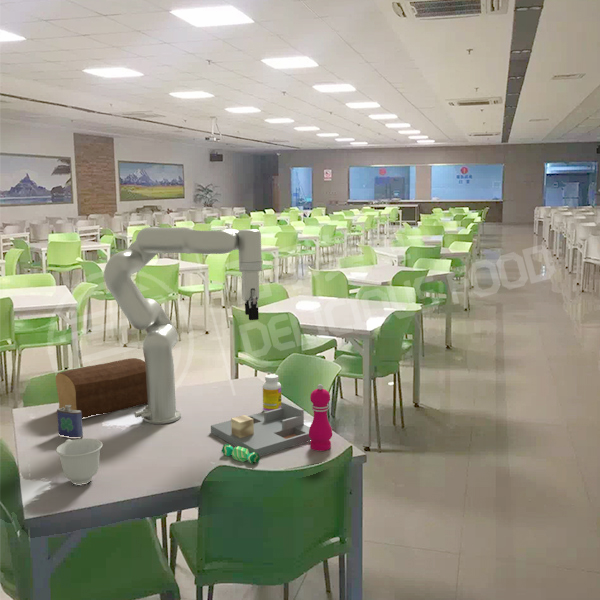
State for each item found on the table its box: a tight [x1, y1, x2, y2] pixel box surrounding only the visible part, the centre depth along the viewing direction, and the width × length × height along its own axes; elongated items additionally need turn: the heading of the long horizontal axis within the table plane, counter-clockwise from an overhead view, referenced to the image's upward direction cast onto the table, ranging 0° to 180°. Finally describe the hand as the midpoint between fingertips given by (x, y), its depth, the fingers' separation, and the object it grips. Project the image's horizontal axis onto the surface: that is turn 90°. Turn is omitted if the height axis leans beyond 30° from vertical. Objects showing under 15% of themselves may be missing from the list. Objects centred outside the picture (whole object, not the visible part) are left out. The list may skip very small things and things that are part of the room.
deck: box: [210, 401, 311, 457], centre depth 215 cm, size 24×26×8 cm
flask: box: [56, 405, 84, 438], centre depth 215 cm, size 9×3×11 cm, turn 68°
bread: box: [55, 357, 148, 418], centre depth 245 cm, size 18×30×16 cm, turn 132°
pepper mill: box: [309, 383, 333, 452], centre depth 203 cm, size 7×7×20 cm
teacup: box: [55, 438, 103, 484], centre depth 184 cm, size 12×15×10 cm
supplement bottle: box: [262, 373, 282, 412], centre depth 238 cm, size 7×7×13 cm
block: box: [230, 414, 254, 438], centre depth 210 cm, size 5×5×5 cm
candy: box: [221, 443, 261, 465], centre depth 197 cm, size 12×3×4 cm
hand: (251, 317), depth 226 cm, fingers open, 9 cm apart
